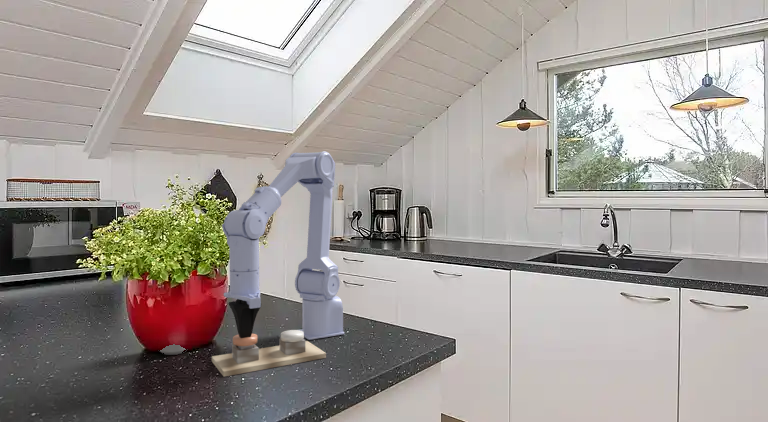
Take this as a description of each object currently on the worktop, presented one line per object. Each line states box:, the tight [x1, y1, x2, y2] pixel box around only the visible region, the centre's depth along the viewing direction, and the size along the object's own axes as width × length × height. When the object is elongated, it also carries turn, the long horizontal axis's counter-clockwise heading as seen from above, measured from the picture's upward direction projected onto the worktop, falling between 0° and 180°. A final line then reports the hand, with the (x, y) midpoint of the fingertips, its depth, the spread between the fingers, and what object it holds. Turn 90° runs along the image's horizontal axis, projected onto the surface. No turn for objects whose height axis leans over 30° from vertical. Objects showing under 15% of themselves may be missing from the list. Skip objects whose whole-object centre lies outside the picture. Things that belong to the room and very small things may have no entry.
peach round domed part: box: [232, 332, 258, 350], centre depth 102 cm, size 5×5×4 cm
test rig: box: [211, 337, 327, 377], centre depth 105 cm, size 21×10×4 cm, turn 121°
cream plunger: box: [280, 329, 305, 342], centre depth 107 cm, size 5×5×4 cm
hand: (245, 336), depth 102 cm, fingers closed, pressing on peach round domed part
